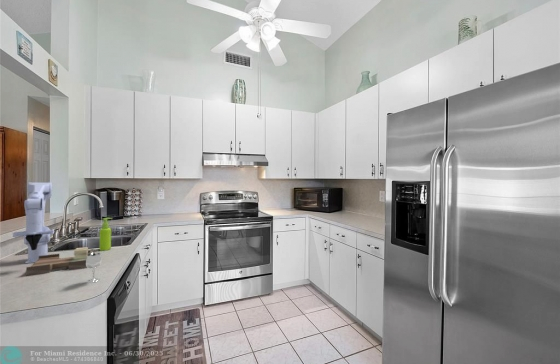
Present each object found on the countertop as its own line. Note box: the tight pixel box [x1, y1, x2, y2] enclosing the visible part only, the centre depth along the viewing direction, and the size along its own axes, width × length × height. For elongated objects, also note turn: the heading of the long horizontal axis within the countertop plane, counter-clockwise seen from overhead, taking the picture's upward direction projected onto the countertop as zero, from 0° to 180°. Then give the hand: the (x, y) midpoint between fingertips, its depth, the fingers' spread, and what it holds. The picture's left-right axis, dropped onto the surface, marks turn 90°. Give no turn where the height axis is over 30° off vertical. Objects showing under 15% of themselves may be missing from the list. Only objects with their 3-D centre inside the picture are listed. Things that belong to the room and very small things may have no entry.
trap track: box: [25, 248, 95, 277], centre depth 127 cm, size 19×23×4 cm
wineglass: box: [86, 252, 103, 284], centre depth 110 cm, size 6×6×12 cm
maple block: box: [73, 246, 89, 260], centre depth 131 cm, size 5×5×5 cm
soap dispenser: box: [99, 217, 113, 252], centre depth 155 cm, size 6×7×20 cm
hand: (34, 249), depth 122 cm, fingers closed
